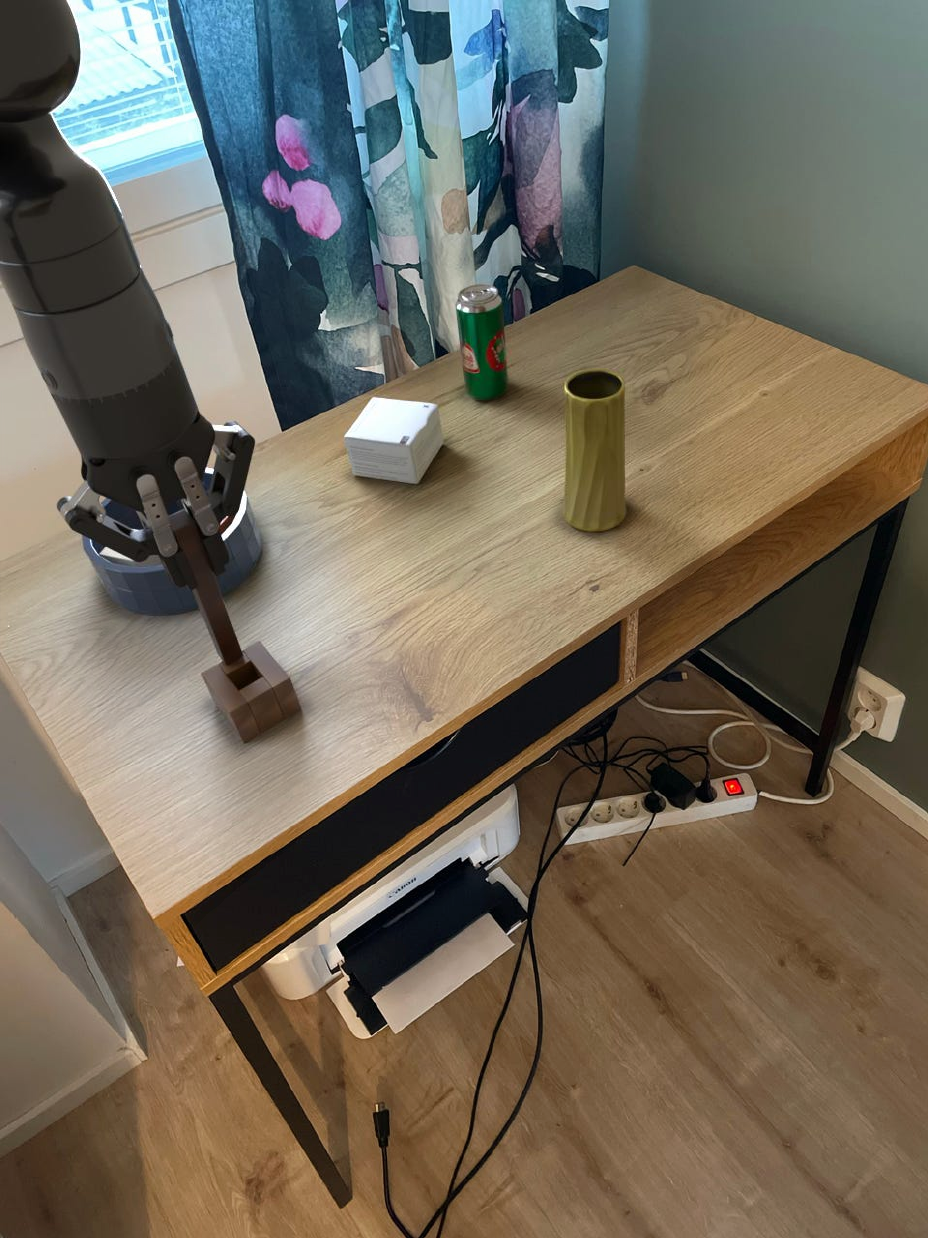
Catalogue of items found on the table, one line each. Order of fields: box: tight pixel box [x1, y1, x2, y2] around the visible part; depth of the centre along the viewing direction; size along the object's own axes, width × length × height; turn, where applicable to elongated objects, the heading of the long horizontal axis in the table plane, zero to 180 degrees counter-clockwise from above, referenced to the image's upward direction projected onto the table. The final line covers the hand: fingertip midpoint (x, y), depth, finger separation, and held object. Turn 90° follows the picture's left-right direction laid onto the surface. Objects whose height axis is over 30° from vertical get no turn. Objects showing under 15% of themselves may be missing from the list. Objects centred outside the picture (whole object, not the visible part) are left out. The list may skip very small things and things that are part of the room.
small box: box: [343, 396, 444, 485], centre depth 95 cm, size 8×8×5 cm
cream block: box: [99, 529, 162, 567], centre depth 85 cm, size 4×4×4 cm
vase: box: [562, 368, 627, 533], centre depth 82 cm, size 6×6×14 cm
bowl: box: [81, 467, 263, 616], centre depth 87 cm, size 16×16×6 cm
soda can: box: [455, 283, 509, 401], centre depth 100 cm, size 5×5×12 cm
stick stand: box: [200, 640, 302, 744], centre depth 73 cm, size 5×5×4 cm
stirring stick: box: [168, 509, 243, 665], centre depth 67 cm, size 2×2×16 cm
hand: (202, 576), depth 64 cm, fingers closed on stirring stick
